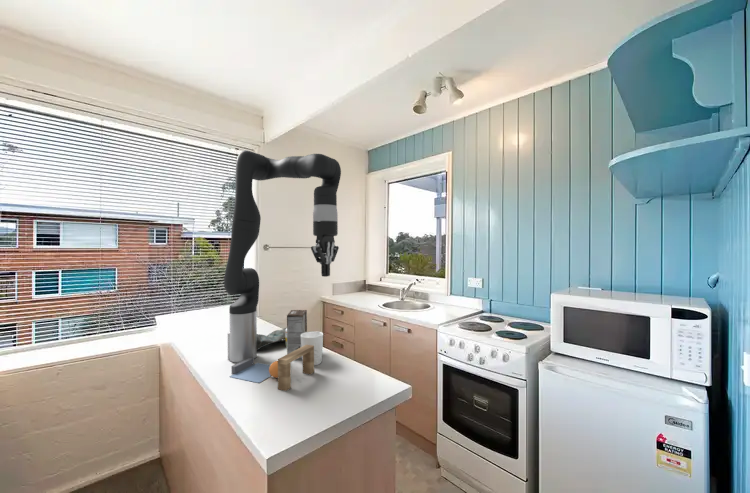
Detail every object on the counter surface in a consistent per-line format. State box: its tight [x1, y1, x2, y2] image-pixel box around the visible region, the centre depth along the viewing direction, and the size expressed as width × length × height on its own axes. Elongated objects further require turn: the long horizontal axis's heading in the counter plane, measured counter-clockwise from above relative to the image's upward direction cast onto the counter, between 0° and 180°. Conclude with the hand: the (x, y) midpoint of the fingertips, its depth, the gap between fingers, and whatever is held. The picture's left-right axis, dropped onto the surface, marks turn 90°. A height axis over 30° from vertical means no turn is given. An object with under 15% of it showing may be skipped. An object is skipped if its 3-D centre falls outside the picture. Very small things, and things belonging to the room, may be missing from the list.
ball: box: [269, 360, 278, 379], centre depth 96 cm, size 5×5×5 cm
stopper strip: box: [231, 358, 255, 375], centre depth 102 cm, size 2×8×2 cm, turn 158°
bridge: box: [277, 345, 315, 392], centre depth 93 cm, size 3×14×9 cm, turn 158°
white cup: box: [301, 330, 324, 366], centre depth 108 cm, size 8×8×10 cm
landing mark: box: [229, 362, 272, 384], centre depth 99 cm, size 12×12×1 cm
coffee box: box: [286, 309, 308, 359], centre depth 116 cm, size 9×6×16 cm
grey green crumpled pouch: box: [257, 327, 287, 351], centre depth 129 cm, size 13×7×25 cm
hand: (325, 276), depth 94 cm, fingers closed
